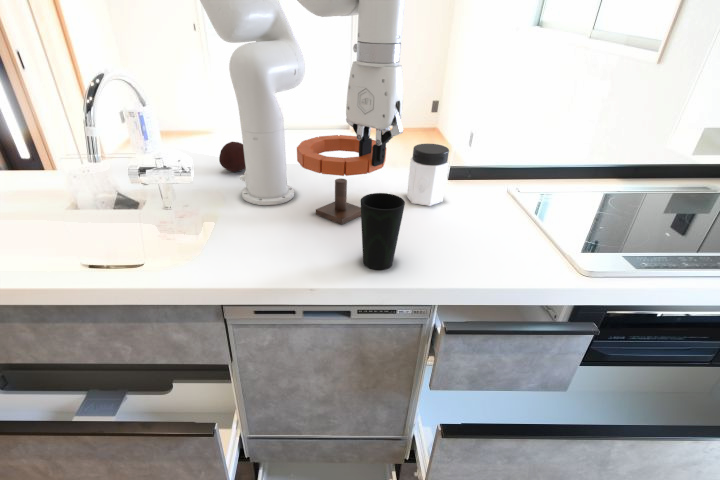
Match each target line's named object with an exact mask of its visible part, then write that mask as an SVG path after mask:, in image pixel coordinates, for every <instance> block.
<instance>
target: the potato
mask: <svg viewBox="0 0 720 480" xmlns="http://www.w3.org/2000/svg"><path fill="white" fill-rule="evenodd" d="M218 159H219V164H220V165H221V167H222V168H223V169H224V170H226V171H229V172H233V173H236V172H237V173H238V172H242V171H244V170H246V167H245V158H244V149H243V142H238V141H230V142H227V143H225V144H224V145H223V146H222V148H221V150H220V153H219V157H218Z"/></svg>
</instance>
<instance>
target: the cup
mask: <svg viewBox="0 0 720 480" xmlns="http://www.w3.org/2000/svg"><path fill="white" fill-rule="evenodd" d="M359 201H360V203H359V204H360V207H361V216H360V223H361V224H360V225H361V247H362V263H363V266H365V268H367V269H370V270H373V271H384V270H385V271H386V270H388V269H390V268H391V267H393V263H394V259H395V253H396V249H397V244H398V239H399V236H400V235H399V234H400V230H401V225H402V220H403V215H404V210H405V206H406V201H405V200H404V199H403V197H401V196H399V195H396V194H394V193H393V194H392V193H386V192H374V193H368V194H366V195H364V196H362V197H361V198H360V200H359Z"/></svg>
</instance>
